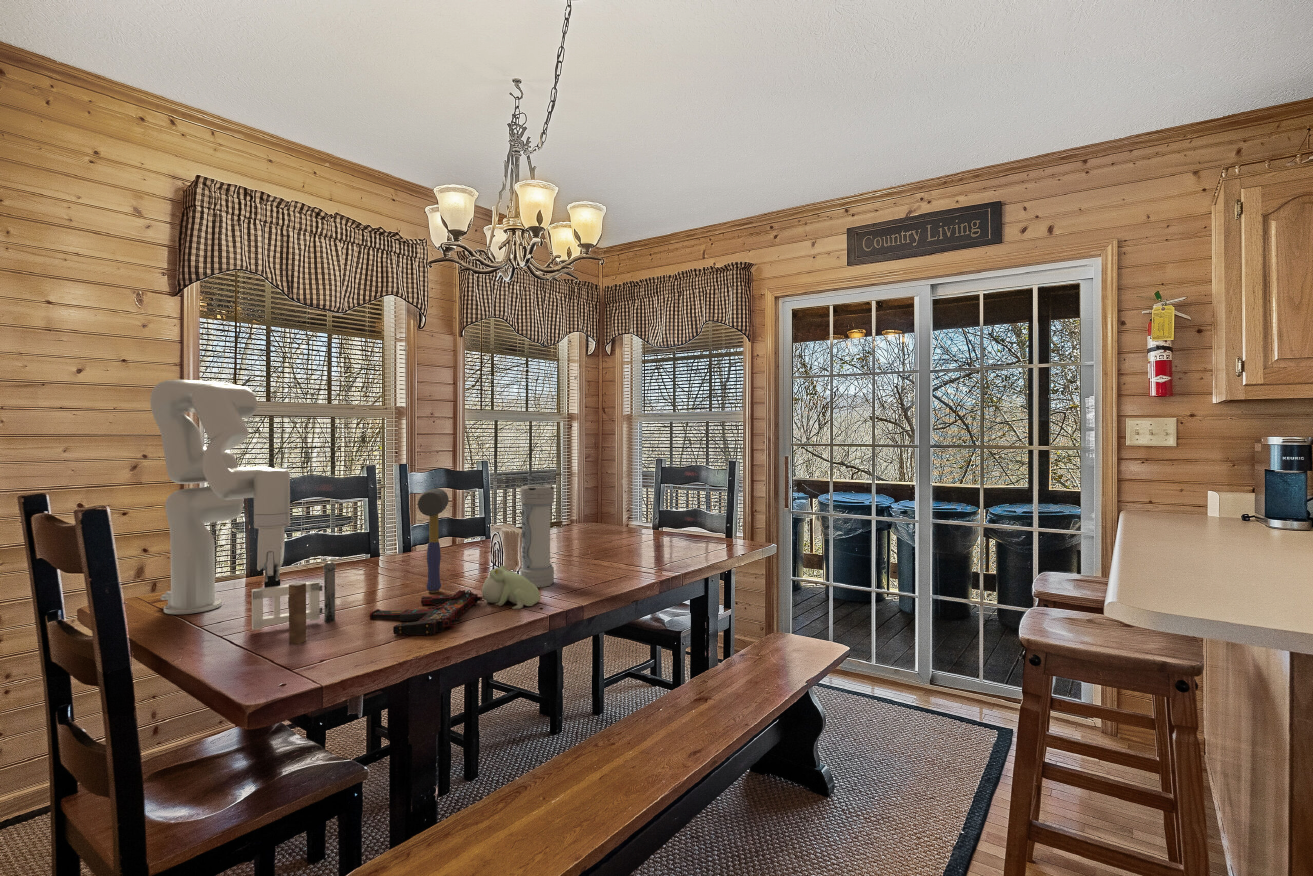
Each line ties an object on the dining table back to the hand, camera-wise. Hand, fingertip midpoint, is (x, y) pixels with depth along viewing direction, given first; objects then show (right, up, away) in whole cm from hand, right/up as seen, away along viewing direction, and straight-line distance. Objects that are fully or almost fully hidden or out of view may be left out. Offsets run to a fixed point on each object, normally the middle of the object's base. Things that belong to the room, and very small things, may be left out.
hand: (272, 596), depth 160 cm
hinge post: (+11, -7, +5) cm, 14 cm away
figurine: (+52, -7, +22) cm, 57 cm away
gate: (+4, -6, -1) cm, 8 cm away
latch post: (+12, -8, -11) cm, 18 cm away
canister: (+56, -7, +44) cm, 71 cm away
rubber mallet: (+28, -7, +34) cm, 44 cm away
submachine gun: (+33, -8, +11) cm, 36 cm away
